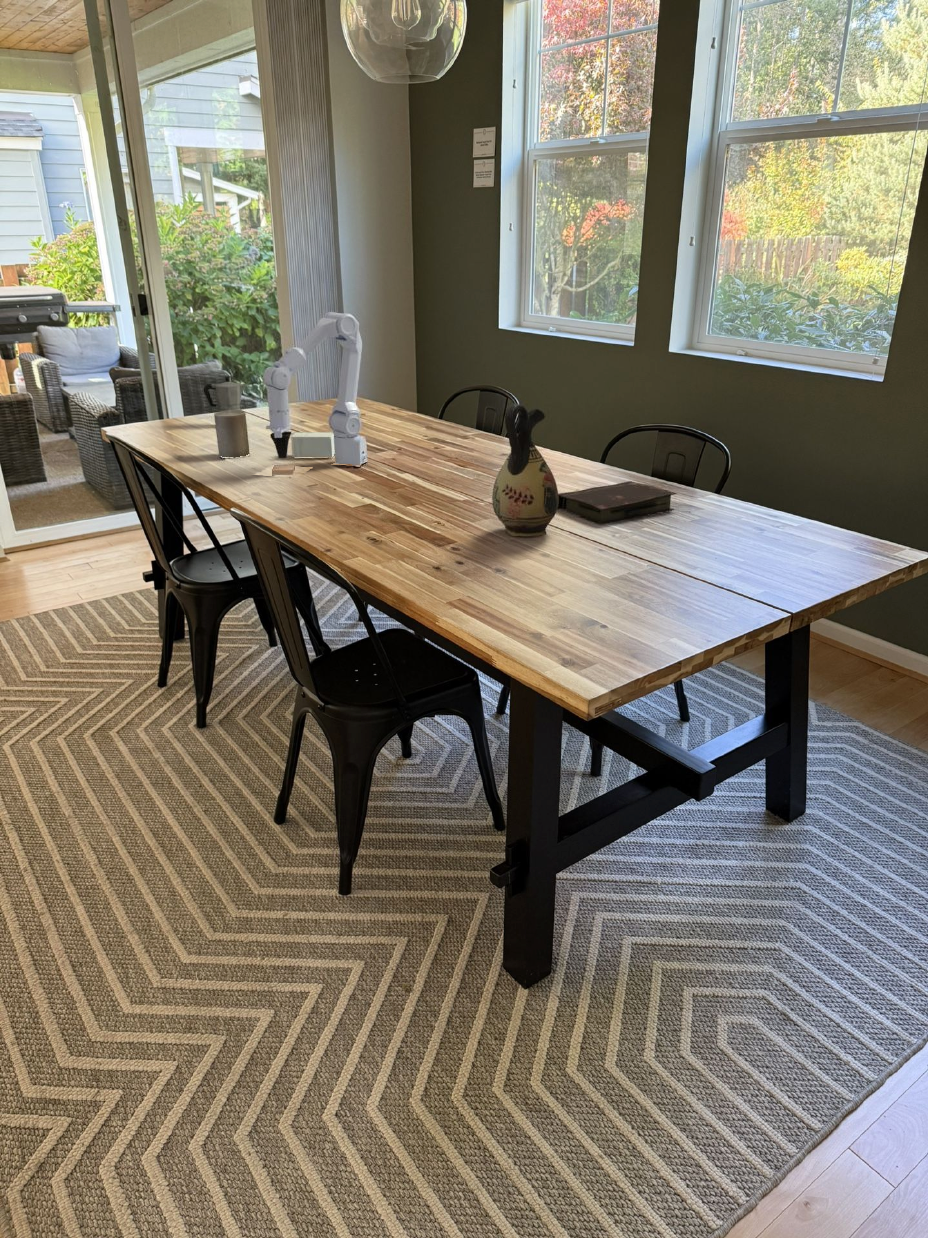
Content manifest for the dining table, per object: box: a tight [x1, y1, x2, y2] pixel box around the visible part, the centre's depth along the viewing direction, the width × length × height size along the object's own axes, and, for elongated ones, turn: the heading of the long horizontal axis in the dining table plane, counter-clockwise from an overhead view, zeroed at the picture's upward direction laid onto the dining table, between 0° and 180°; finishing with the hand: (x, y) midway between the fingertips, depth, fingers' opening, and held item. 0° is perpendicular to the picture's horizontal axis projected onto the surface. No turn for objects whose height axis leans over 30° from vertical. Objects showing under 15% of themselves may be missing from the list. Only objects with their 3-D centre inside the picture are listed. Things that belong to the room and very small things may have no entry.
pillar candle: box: [213, 410, 251, 457], centre depth 279 cm, size 10×10×15 cm
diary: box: [557, 480, 677, 525], centre depth 226 cm, size 19×25×5 cm
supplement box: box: [290, 432, 335, 458], centre depth 279 cm, size 7×7×13 cm
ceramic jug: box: [491, 403, 559, 537], centre depth 202 cm, size 17×15×30 cm
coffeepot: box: [202, 376, 248, 412], centre depth 324 cm, size 15×9×18 cm, turn 103°
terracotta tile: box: [272, 464, 296, 476], centre depth 259 cm, size 2×6×6 cm
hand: (282, 457), depth 258 cm, fingers closed
